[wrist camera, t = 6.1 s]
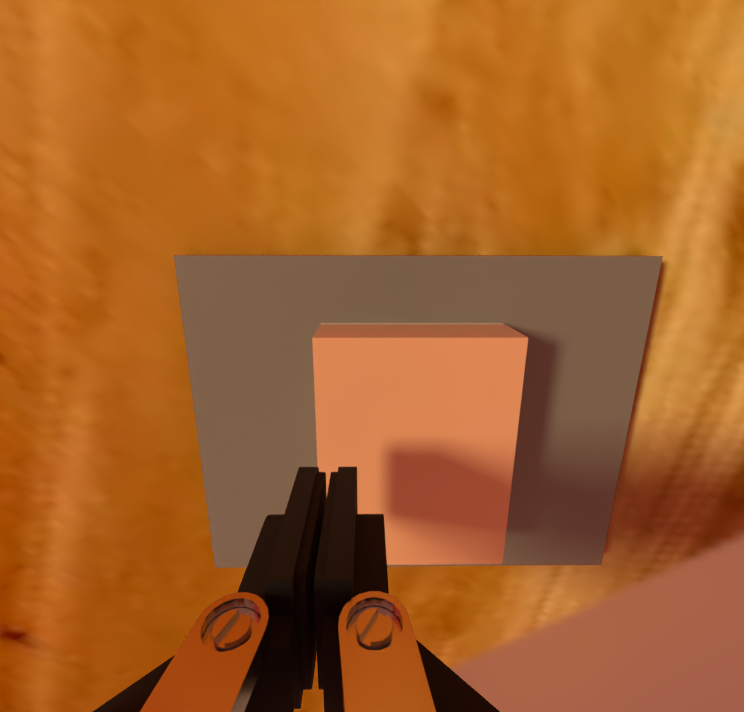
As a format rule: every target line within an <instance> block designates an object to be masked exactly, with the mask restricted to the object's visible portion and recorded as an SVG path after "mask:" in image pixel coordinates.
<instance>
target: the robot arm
mask: <svg viewBox="0 0 744 712" xmlns="http://www.w3.org/2000/svg"><path fill="white" fill-rule="evenodd" d="M316 653H317V663H318V684H319V689H323V690H324V711H325V712H499V711H498V710H497V709H496V708H495V707H494V706H493V705H491V704H490V703H489V702H488V701H487V700H485V698H483V697H482V696H481V695H480V694H479V693H478V692H476V691H475V690H474V689H473V688H471V687H470V686H469V685H468V684H467V683H466V682H465V681H463V680H462V679H461V678H460V677H459V676H458V675H457V674H455V673H454V672H453V671H452V670H451V669H450V668H449V667H447V666H446V665H445V664H444V663H443V662H442V661H440V660H439V659H438V658H437V657H436V656H435V655H433V654H432V653H431V652H430V651H429V650H428V649H426V648H425V647H424V646H423V645H422V644H421V643H420V642H418V641H417V640H416V638H415V634H414V631H413V627H412V624H411V620H410V617H409V614H408V612H407V610H406V608H405V606H404V605H403V604H402V603H401V602H400V601H399V600H398V599H397V598H395V597H393V596H392V595H390V594H389V592H388V575H387V559H386V543H385V526H384V514H358V504H357V467H338V472H331V474H330V481H329V487H328V493H326V473H325V472H319V468H318V467H299V469H298V472H297V475H296V478H295V481H294V485H293V488H292V491H291V494H290V497H289V501H288V504H287V507H286V510H285V514H273V515H267V516H266V518H265V521H264V523H263V526H262V529H261V531H260V534H259V537H258V539H257V542H256V545H255V547H254V550H253V553H252V555H251V558H250V561H249V563H248V566H247V569H246V571H245V574H244V577H243V579H242V582H241V585H240V587H239V590H238V592H237V593H233V594H229V595H226V596H224V597H222V598H220V599H218V600H216V601H214V602H213V603H212V604H211V605H209V606H208V607H207V608H206V609H205V610H204V611H203V612H202V614H201V615H200V616H199V617H198V619H197V620H196V622H195V623H194V625H193V627H192V628H191V630H190V631H189V633H188V635H187V636H186V638H185V640H184V641H183V643H182V644H181V646H180V648H179V649H178V651H177V653H176V654H175V655H174V656H173V657H171V658H170V659H169V660H167V661H166V662H164V663H163V664H161V665H160V666H158V667H157V668H156V669H154V670H153V671H151V672H150V673H148V674H147V675H145V676H144V677H142V678H141V679H140V680H138V681H137V682H135V683H134V684H132V685H131V686H129V687H128V688H127V689H125V690H124V691H122V692H121V693H119V694H118V695H116V696H115V697H114V698H112V699H111V700H109V701H108V702H106V703H105V704H103V705H102V706H100V707H99V708H98V709H96V710H95V711H93V712H293V711H294V709H300V708H301V701H302V694H303V690H306V689H312V685H313V677H314V669H315V661H316Z"/></svg>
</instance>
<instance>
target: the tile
mask: <svg viewBox="0 0 744 712" xmlns="http://www.w3.org/2000/svg"><path fill="white" fill-rule="evenodd" d="M312 343H313V368H314V392H315V417H316V441H317V466H318V468H319V472H325V473H326V493H328V487H329V481H330V474H331V472H338V467H357V504H358V514H384V526H385V543H386V559H387V565H434V564H502V563H503V554H504V546H505V537H506V528H507V520H508V511H509V502H510V493H511V485H512V476H513V467H514V459H515V450H516V441H517V432H518V424H519V415H520V406H521V398H522V389H523V380H524V371H525V363H526V354H527V345H528V337H526V336H525V335H523V334H521V333H519V332H518V331H516V330H514V329H512V328H511V327H509V326H507V325H505V324H504V323H321V324H320V326H319V327H318V329H317V331H316V332H315V334H314V336H313V337H312Z"/></svg>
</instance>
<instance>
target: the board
mask: <svg viewBox="0 0 744 712" xmlns="http://www.w3.org/2000/svg"><path fill="white" fill-rule="evenodd" d="M662 257H663V256H526V255H174V260H175V268H176V275H177V283H178V290H179V298H180V305H181V313H182V320H183V328H184V336H185V343H186V351H187V358H188V366H189V373H190V381H191V388H192V396H193V403H194V411H195V419H196V426H197V434H198V441H199V449H200V456H201V464H202V471H203V479H204V487H205V494H206V502H207V509H208V517H209V524H210V532H211V539H212V547H213V554H214V562H215V568H222V567H247V566H248V563H249V561H250V558H251V555H252V553H253V550H254V547H255V545H256V542H257V539H258V537H259V534H260V531H261V529H262V526H263V523H264V521H265V518H266V516H267V515H273V514H285V510H286V507H287V504H288V501H289V497H290V494H291V491H292V488H293V485H294V481H295V478H296V475H297V472H298V469H299V467H318V466H317V441H316V417H315V392H314V368H313V343H312V337H313V336H314V334H315V332H316V331H317V329H318V327H319V326H320V324H321V323H504V324H505V325H507V326H509V327H511V328H512V329H514V330H516V331H518V332H519V333H521V334H523V335H525V336H526V337H528V345H527V354H526V363H525V371H524V380H523V389H522V398H521V406H520V415H519V424H518V432H517V441H516V450H515V459H514V467H513V476H512V485H511V493H510V502H509V511H508V520H507V528H506V537H505V546H504V554H503V563H502V564H434V565H387V566H486V565H601V563H602V558H603V553H604V548H605V543H606V538H607V533H608V528H609V523H610V517H611V512H612V507H613V502H614V497H615V492H616V487H617V482H618V477H619V472H620V467H621V462H622V457H623V452H624V447H625V442H626V437H627V432H628V427H629V422H630V417H631V412H632V407H633V402H634V397H635V392H636V387H637V382H638V377H639V372H640V367H641V362H642V357H643V352H644V347H645V342H646V337H647V332H648V327H649V322H650V317H651V312H652V307H653V302H654V297H655V292H656V287H657V282H658V277H659V272H660V267H661V262H662Z"/></svg>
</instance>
